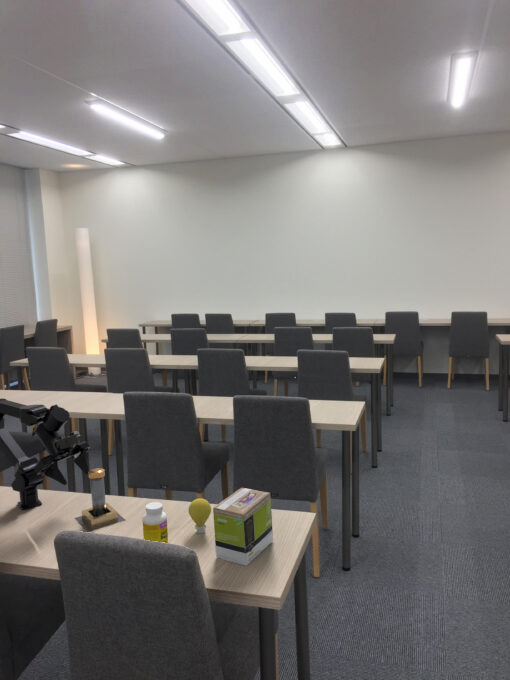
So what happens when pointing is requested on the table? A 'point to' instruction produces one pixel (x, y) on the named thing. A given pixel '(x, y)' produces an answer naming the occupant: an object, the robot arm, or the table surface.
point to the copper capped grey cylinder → (97, 491)
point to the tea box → (243, 525)
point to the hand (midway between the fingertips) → (77, 479)
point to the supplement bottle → (155, 523)
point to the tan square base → (99, 519)
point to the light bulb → (200, 513)
